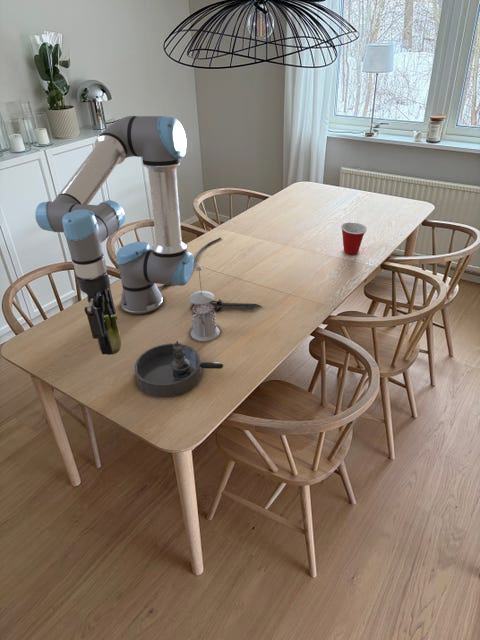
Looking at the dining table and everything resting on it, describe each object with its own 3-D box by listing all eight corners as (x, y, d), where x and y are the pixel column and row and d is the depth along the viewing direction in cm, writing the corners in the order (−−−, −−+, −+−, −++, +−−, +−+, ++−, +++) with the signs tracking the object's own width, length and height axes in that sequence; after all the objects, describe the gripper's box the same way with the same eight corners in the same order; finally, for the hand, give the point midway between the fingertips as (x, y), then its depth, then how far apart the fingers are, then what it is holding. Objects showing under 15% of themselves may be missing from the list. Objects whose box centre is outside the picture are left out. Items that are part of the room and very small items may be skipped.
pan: (145, 354, 150) (143, 343, 147) (205, 355, 148) (204, 343, 146) (129, 396, 134) (126, 384, 131) (196, 397, 132) (195, 385, 130)
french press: (220, 323, 162) (215, 258, 148) (218, 344, 153) (213, 276, 139) (191, 324, 163) (184, 259, 149) (188, 344, 153) (180, 277, 139)
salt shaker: (174, 366, 143) (169, 334, 136) (193, 367, 142) (189, 335, 136) (169, 379, 138) (164, 346, 131) (189, 380, 137) (185, 347, 131)
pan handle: (199, 369, 138) (199, 364, 137) (200, 365, 139) (200, 360, 138) (223, 369, 137) (222, 365, 136) (223, 366, 139) (223, 361, 138)
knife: (262, 306, 171) (262, 302, 170) (259, 315, 166) (259, 312, 165) (196, 300, 176) (195, 297, 175) (191, 309, 170) (190, 306, 170)
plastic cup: (359, 260, 197) (362, 233, 191) (334, 255, 202) (336, 228, 196) (367, 250, 205) (371, 224, 198) (344, 245, 210) (346, 220, 203)
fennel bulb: (125, 347, 133) (116, 312, 126) (117, 358, 129) (108, 322, 122) (106, 345, 134) (97, 310, 127) (98, 356, 130) (88, 320, 123)
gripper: (89, 256, 125) (107, 328, 138) (63, 291, 110) (86, 368, 123) (116, 256, 124) (132, 328, 137) (95, 291, 110) (114, 368, 123)
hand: (110, 346), depth 130 cm, fingers closed on fennel bulb, 5 cm apart
